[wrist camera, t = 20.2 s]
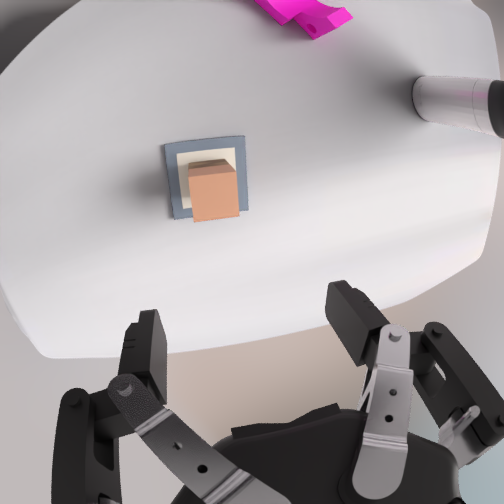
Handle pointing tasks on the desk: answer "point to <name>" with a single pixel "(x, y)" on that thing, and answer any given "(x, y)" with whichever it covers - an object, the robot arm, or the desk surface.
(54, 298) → the desk surface
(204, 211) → the terracotta cube
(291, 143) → the desk surface
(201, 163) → the walnut cube
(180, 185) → the blue bordered cream board
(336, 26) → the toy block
